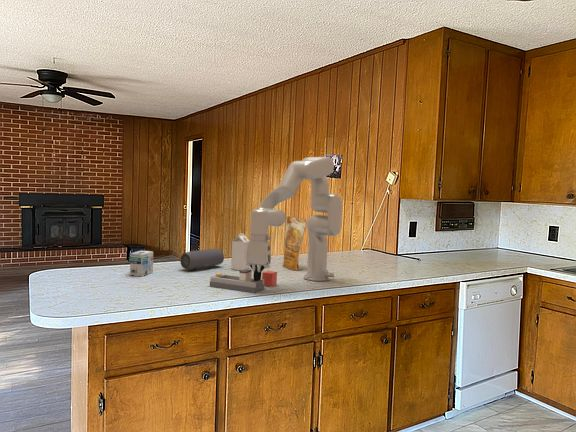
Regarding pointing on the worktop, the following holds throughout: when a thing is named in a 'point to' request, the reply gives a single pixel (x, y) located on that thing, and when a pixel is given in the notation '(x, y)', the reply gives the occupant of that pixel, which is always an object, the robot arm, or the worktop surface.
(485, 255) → the worktop surface
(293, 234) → the pancake mix bag
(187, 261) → the bluetooth speaker
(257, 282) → the gray rectangular tray
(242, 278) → the breaker lever
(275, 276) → the block
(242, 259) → the milk carton
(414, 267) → the worktop surface
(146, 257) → the light bulb box
